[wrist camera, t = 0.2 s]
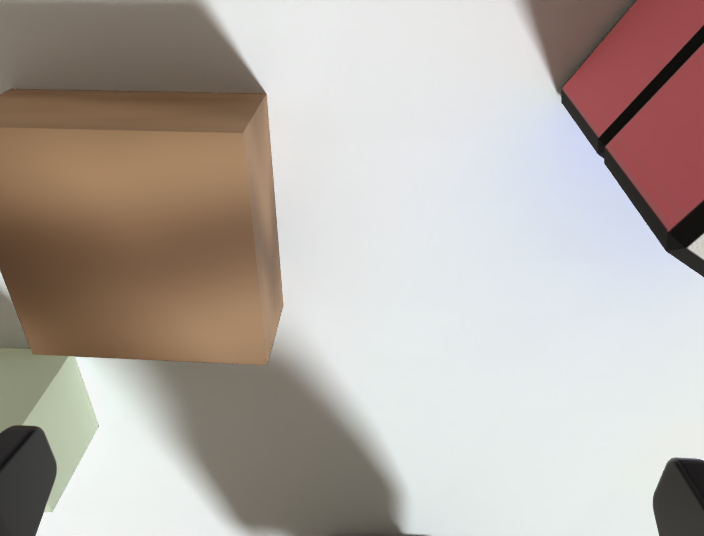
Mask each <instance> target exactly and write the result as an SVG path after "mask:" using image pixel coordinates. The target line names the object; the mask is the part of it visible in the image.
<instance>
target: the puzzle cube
mask: <svg viewBox="0 0 704 536" xmlns="http://www.w3.org/2000/svg"><path fill="white" fill-rule="evenodd" d="M561 98H562V104H563V105H564V106H565V108H566V109H567V111H568V112H569V114H570V115H571V116H572V118H573V119H574V121H575V122H576V124H577V125H578V126H579V128H580V129H581V131H582V132H583V133H584V135H585V136H586V138H587V139H588V141H589V142H590V143H591V145H592V146H593V148H594V149H595V151H596V152H597V153H598V154H599V155H600V156H601V157H603V158H604V163H605V165H606V166H607V168H608V169H609V170H610V172H611V173H612V175H613V176H614V178H615V179H616V180H617V182H618V183H619V185H620V186H621V188H622V189H623V190H624V192H625V193H626V195H627V196H628V198H629V199H630V200H631V202H632V203H633V205H634V206H635V207H636V209H637V210H638V212H639V213H640V215H641V216H642V217H643V219H644V220H645V222H646V223H647V225H648V226H649V227H650V229H651V230H652V232H653V233H654V234H655V236H656V237H657V239H658V240H659V242H660V243H661V244H662V246H663V247H664V249H665V250H666V251H667V252H668V253H670V254H671V255H673V256H674V257H675V258H677V259H678V260H680V261H681V262H683V263H684V264H686V265H687V266H689V267H690V268H691V269H693V270H694V271H696V272H697V273H699V274H700V275H702V276H703V277H704V0H637V1H636V2H635V3H634V4H633V5H632V6H631V8H630V9H629V10H628V11H627V12H626V13H625V15H624V16H623V17H622V18H621V19H620V21H619V22H618V23H617V24H616V25H615V26H614V28H613V29H612V30H611V31H610V32H609V33H608V35H607V36H606V37H605V38H604V39H603V40H602V42H601V43H600V44H599V45H598V46H597V48H596V49H595V50H594V51H593V52H592V53H591V55H590V56H589V57H588V58H587V59H586V60H585V62H584V63H583V64H582V65H581V66H580V68H579V69H578V70H577V71H576V72H575V73H574V75H573V76H572V77H571V78H570V79H569V80H568V82H567V83H566V84H565V85H564V86H563V87H562V89H561Z"/></svg>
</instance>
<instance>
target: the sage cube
mask: <svg viewBox="0 0 704 536" xmlns="http://www.w3.org/2000/svg"><path fill="white" fill-rule="evenodd" d="M14 425H25V426H38V427H40V428H41V429H42V430H43V431H44V432H45V435H46V437H47V440H48V442H49V445H50V447H51V450H52V452H53V455H54V457H55V459H56V463H57V474H56V479H55V482H54V485H53V487H52V490H51V493H50V496H49V499H48V502H47V504H46V507H45V510H44V512H53V510H54V508H55V506H56V504H57V503H58V501H59V499H60V497H61V495H62V493H63V491H64V490H65V488H66V486H67V484H68V482H69V480H70V478H71V477H72V475H73V473H74V471H75V469H76V467H77V466H78V464H79V462H80V460H81V458H82V456H83V454H84V453H85V451H86V449H87V447H88V445H89V443H90V441H91V440H92V438H93V436H94V434H95V432H96V430H97V428H98V427H99V425H98V422H97V419H96V416H95V413H94V410H93V407H92V404H91V402H90V399H89V396H88V393H87V390H86V387H85V384H84V381H83V378H82V375H81V373H80V370H79V367H78V364H77V361H76V358H75V356H54V355H33V354H32V351H31V349H21V348H0V433H1V432H2V431H3V430H5V429H7V428H8V427H11V426H14Z"/></svg>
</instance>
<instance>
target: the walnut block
mask: <svg viewBox="0 0 704 536" xmlns="http://www.w3.org/2000/svg"><path fill="white" fill-rule="evenodd" d="M0 271H1V273H2V276H3V278H4V281H5V284H6V286H7V289H8V291H9V294H10V297H11V299H12V302H13V304H14V307H15V309H16V312H17V315H18V317H19V320H20V322H21V325H22V328H23V330H24V333H25V335H26V338H27V341H28V343H29V346H30V348H31V351H32V354H33V355H54V356H76V357H98V358H120V359H142V360H164V361H187V362H209V363H231V364H253V365H267V364H268V361H269V357H270V353H271V349H272V346H273V342H274V338H275V335H276V331H277V327H278V324H279V320H280V316H281V312H282V309H283V295H282V283H281V270H280V257H279V245H278V232H277V220H276V207H275V195H274V182H273V169H272V157H271V144H270V132H269V119H268V106H267V94H252V93H199V92H146V91H94V90H41V89H10V90H8V91H7V92H5V93H3V94H1V95H0Z"/></svg>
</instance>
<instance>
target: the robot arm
mask: <svg viewBox="0 0 704 536" xmlns="http://www.w3.org/2000/svg"><path fill="white" fill-rule="evenodd" d="M56 474H57V463H56V459H55V457H54V455H53V452H52V450H51V447H50V445H49V442H48V440H47V437H46V435H45V432H44V431H43V430H42V429H41V428H40V427H38V426H25V425H14V426H11V427H8V428H7V429H5V430H3V431H2V432H1V433H0V536H36V533H37V530H38V527H39V524H40V521H41V519H42V516H43V513H44V510H45V507H46V504H47V502H48V499H49V496H50V493H51V490H52V487H53V485H54V482H55V479H56ZM653 510H654V515H655V519H656V524H657V528H658V532H659V536H704V461H703V460H700V459H694V458H672V459H670V460H669V461H668V462H667V464H666V466H665V469H664V471H663V473H662V476H661V478H660V480H659V483H658V485H657V488H656V490H655V492H654V496H653Z"/></svg>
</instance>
